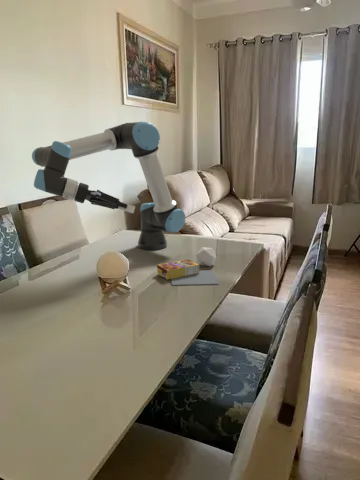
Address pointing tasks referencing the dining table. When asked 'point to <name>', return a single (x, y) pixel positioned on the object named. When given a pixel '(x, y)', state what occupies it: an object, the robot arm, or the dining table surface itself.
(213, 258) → the die
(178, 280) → the felt mat
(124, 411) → the dining table surface
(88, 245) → the dining table surface
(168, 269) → the candy box
